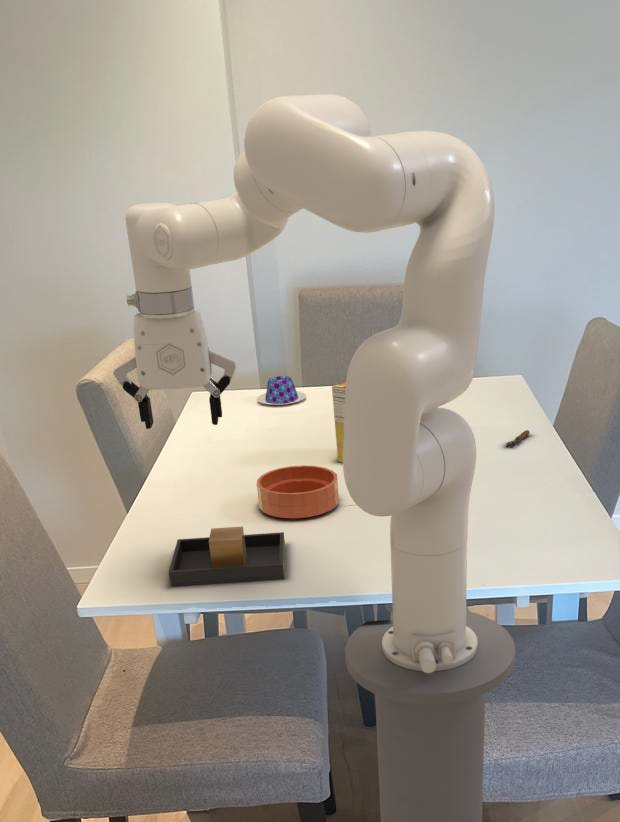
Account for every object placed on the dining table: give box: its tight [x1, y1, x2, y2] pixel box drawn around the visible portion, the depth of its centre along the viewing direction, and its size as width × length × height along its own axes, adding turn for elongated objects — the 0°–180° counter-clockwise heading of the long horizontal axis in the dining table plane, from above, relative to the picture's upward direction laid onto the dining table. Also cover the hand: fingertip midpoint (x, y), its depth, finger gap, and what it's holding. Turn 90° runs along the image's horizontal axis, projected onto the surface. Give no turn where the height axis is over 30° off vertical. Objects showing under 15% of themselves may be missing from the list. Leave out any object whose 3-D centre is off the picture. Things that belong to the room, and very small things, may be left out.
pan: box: [168, 531, 286, 587], centre depth 145 cm, size 12×17×2 cm
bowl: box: [256, 464, 340, 519], centre depth 165 cm, size 14×14×5 cm
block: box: [209, 526, 246, 568], centre depth 144 cm, size 5×5×5 cm
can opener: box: [505, 429, 531, 447], centre depth 189 cm, size 9×2×1 cm, turn 140°
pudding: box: [256, 375, 307, 406], centre depth 224 cm, size 12×12×5 cm
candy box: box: [331, 380, 346, 464], centre depth 183 cm, size 9×4×15 cm, turn 141°
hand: (182, 424), depth 136 cm, fingers open, 9 cm apart
